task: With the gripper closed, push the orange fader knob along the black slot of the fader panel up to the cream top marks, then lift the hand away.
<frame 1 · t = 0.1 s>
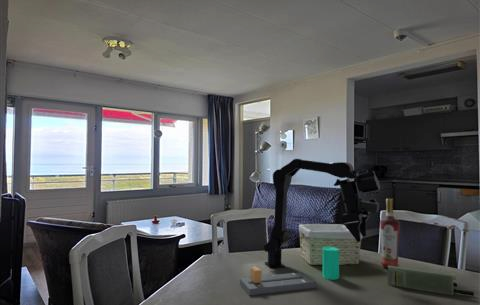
hand: (362, 239, 114), 15 cm above the table, tool pointing down, fingers open, 9 cm apart
fader panel: (277, 285, 109), on the table
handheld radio: (428, 291, 107), on the table
fader knob: (255, 274, 107), point 5 cm above the table, slide at 0.0 cm
candle: (330, 277, 119), on the table
storage basket: (329, 261, 140), on the table
liquor: (390, 267, 131), on the table
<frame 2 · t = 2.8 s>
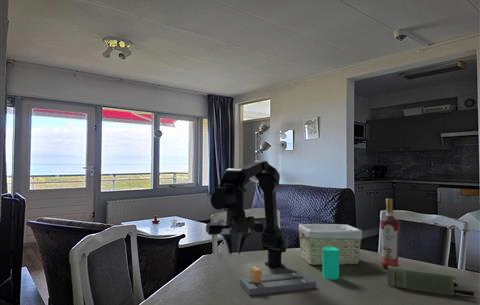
hand: (234, 253, 105), 12 cm above the table, tool pointing down, fingers open, 3 cm apart
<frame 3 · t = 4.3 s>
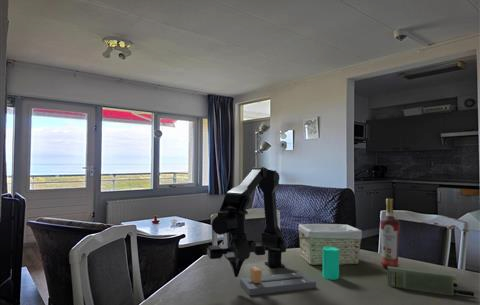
hand: (235, 276, 105), 4 cm above the table, tool pointing down, fingers closed
nothing on the table moved.
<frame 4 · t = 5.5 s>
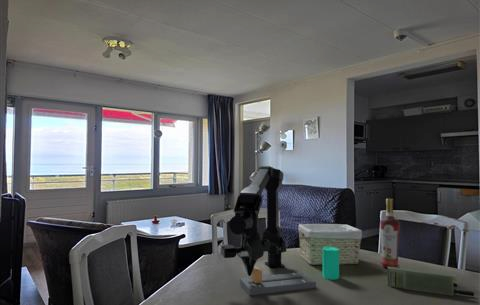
hand: (249, 275, 107), 4 cm above the table, tool pointing down, fingers closed
fader knob: (256, 274, 107), point 5 cm above the table, slide at 0.3 cm, touching gripper
everything else where it was.
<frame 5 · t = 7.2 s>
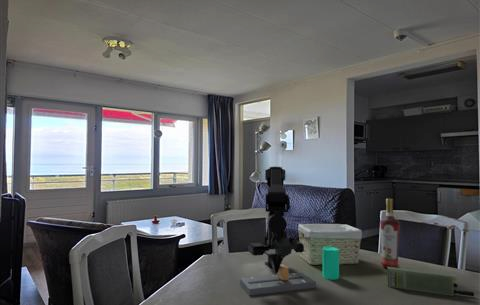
hand: (275, 272, 109), 4 cm above the table, tool pointing down, fingers closed
fader knob: (282, 271, 110), point 5 cm above the table, slide at 10.0 cm, touching gripper
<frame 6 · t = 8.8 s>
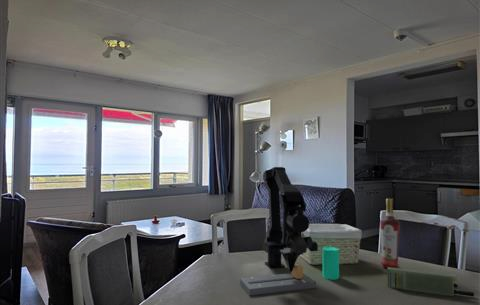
hand: (290, 271, 111), 4 cm above the table, tool pointing down, fingers closed
fader knob: (297, 270, 112), point 5 cm above the table, slide at 15.4 cm, touching gripper
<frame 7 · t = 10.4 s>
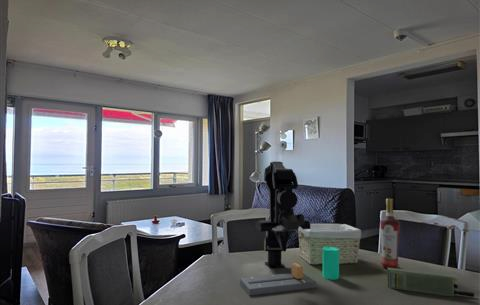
hand: (283, 249, 111), 12 cm above the table, tool pointing down, fingers closed
fader knob: (297, 270, 112), point 5 cm above the table, slide at 15.5 cm
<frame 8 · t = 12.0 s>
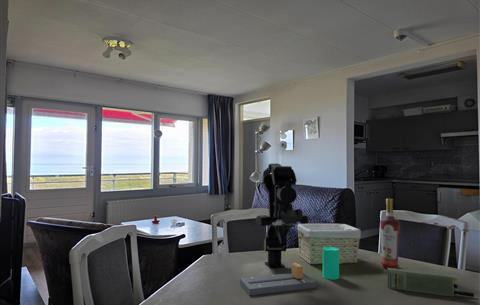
hand: (282, 243, 116), 13 cm above the table, tool pointing down, fingers closed
at the end: fader knob slide at 15.5 cm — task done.
